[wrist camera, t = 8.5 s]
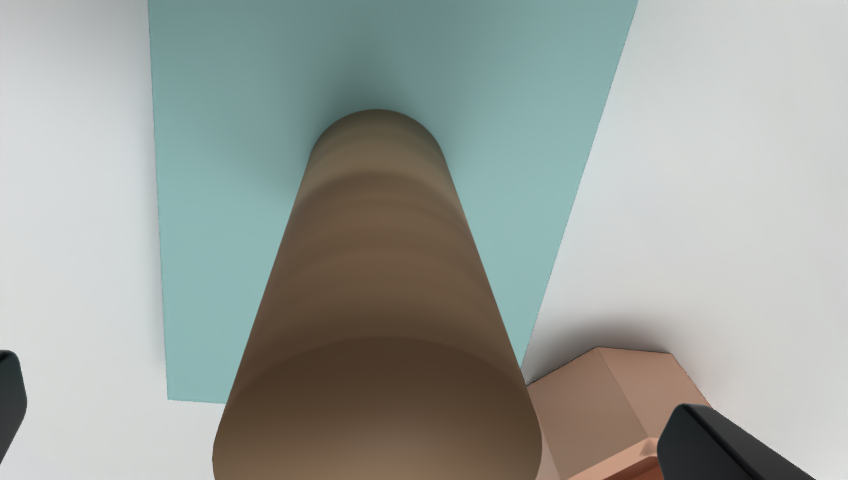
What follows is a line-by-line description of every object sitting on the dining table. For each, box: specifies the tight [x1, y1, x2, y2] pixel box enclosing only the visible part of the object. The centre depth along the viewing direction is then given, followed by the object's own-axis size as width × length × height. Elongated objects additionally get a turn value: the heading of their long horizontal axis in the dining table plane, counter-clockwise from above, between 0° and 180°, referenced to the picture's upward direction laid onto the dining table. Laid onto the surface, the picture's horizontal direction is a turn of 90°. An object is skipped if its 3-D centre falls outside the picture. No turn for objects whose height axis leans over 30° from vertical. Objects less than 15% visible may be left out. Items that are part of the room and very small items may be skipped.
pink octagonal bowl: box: [527, 347, 712, 480], centre depth 21 cm, size 8×8×4 cm
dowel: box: [212, 109, 542, 480], centre depth 11 cm, size 4×4×10 cm
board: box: [148, 0, 638, 404], centre depth 16 cm, size 18×12×2 cm, turn 170°
